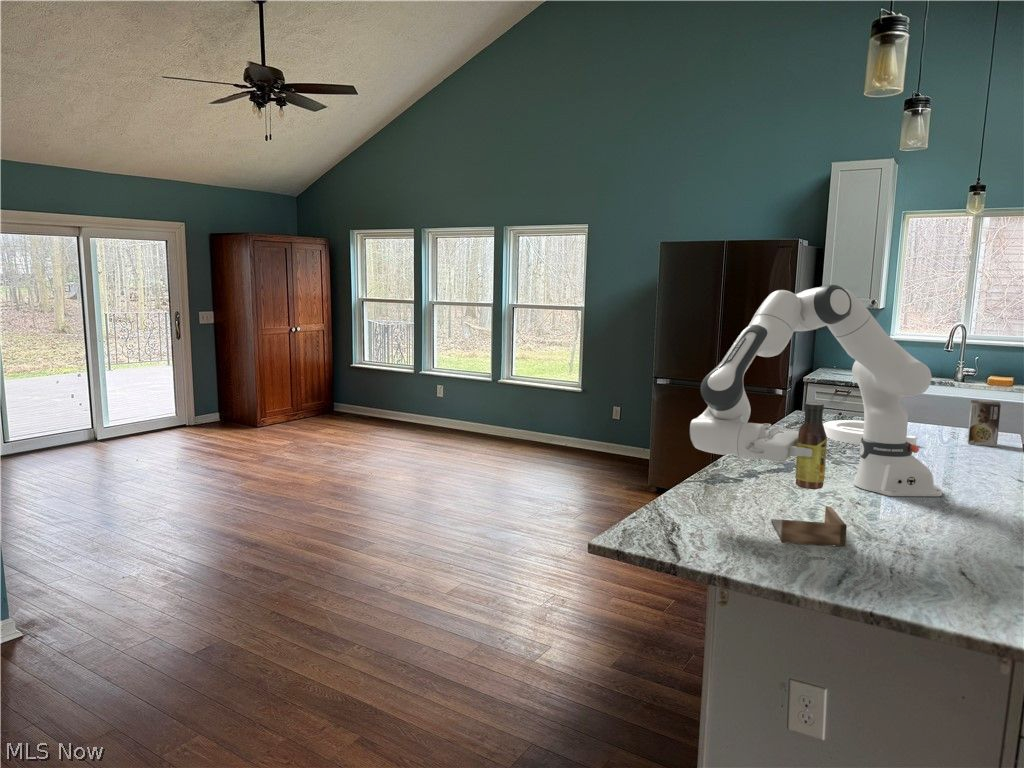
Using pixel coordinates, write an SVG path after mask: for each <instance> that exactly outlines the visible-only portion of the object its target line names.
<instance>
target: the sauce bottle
mask: <svg viewBox="0 0 1024 768" xmlns="http://www.w3.org/2000/svg"><path fill="white" fill-rule="evenodd" d="M824 407H825V404H824V403H821V402H814V401H813V402H812V401H811V402H809V401H808V402H805V403H804V411H805V412H804V415H805V416H804V419H803V420H804V423H803V424H802V426H801V427H800V428H799V430H798V431H799V434H798V443H797V447H801V448H805V447H807V448H812V449H813V455H812V456H811V457H807V456H796V460H795V461H796V462H795V463H796V464H795V476H794V477H795V485H796V486H797V487H799V488H802V489H806V490H820V489H822V488H823V487H824V482H825V476H826V475H825V473H826V462H827V461H826V459H827V458H826V457H827V447H828V446H827V445H828V441H827V440H828V438H827V436H826V433H825V430H824V426H823V424H824V423H823V416H824V415H823V414H824V413H823V412H824Z"/></svg>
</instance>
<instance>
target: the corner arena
mask: <svg viewBox="0 0 1024 768" xmlns="http://www.w3.org/2000/svg"><path fill="white" fill-rule="evenodd" d="M824 510H825V514H824V522H822V521H821V522H819V521H808V520H807V521H806V520H790V519H776V518H771V520H770V523H771V525H772V527H773V528H774V529H773V530H775V533H776V532H777V533H776V535H777V534H778V535H777V536H778V538H779V540H780V543H784V542H789V543H788V544H798V543H800V544H799V545H811V544H813V545H814V544H815V545H816V546H825V545H835V546H834V547H838V546H845V547H846V539H847V524H846V523H845V522H844V521H843V519H842V518H841V517H840V516H839V514H838V513H837V512H836V511H835V510H834V509H833V507H832V506H827V505H826V506H825V509H824ZM815 545H814V546H815Z"/></svg>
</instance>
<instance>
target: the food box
mask: <svg viewBox="0 0 1024 768" xmlns="http://www.w3.org/2000/svg"><path fill="white" fill-rule="evenodd" d="M1001 407H1002V406H1001V402H1000V401H993V400H992V401H990V400H989V401H988V400H979V399H978V400H975V399H974V400H973V399H972V400H970V409H969V418H968V419H969V421H968V431H967V432H968V433H967V439H966V440H967V444H968V445H974V446H985V447H986V446H987V447H994V448H995V447H998V440H999V439H998V438H999V437H998V436H999V427H1000V417H1001V416H1000V415H1001Z"/></svg>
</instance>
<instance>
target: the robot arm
mask: <svg viewBox="0 0 1024 768" xmlns="http://www.w3.org/2000/svg"><path fill="white" fill-rule="evenodd" d="M823 327H827V328H828V330H829V331H830V332H831V334H832V336H834V338H835V339H836V340H837V342H838V343H839V344H840V346H841V347H842V348H843V349H844V351H845V352H846V354H847V356H850V357H851V359H854V362H853V365H852V368H851V375H852V378H853V379H854V381H855V382H856V384H857V385H858V387H859V392H860V394H861V400H862V404H863V411H864V412H863V414H864V415H863V417H864V419H863V421H864V431H863V437H862V438H861V443H860V445H859V456H860V459H859V462H858V463H859V464H858V467H857V472H856V474H855V477H854V480H853V482H852V484H853V486H856V487H857V488H860V489H862V490H865V491H870V492H875V493H878V494H881V495H884V496H888V497H942V496H943V491H942V489H941V488H940V487H939V486H938V485H936V484H935V483H934V476H933V472H932V471H931V469H930V468H928V467H927V465H925V464H924V463H923V462H921V461H920V460H919V459H918V458H917V457H915V455H913V453H914V454H917V453H918V452H920V447H919V446H917V445H916V444H914V445H912V444H910V443H908V442H907V441H906V436H908V434H907V433H908V424H909V415H908V413H907V411H906V409H905V408H904V407H903V404H902V402H901V399H900V397H902V398H903V397H904V398H905V397H917V396H920V395H922V394H923V393H925V392H926V391H927V390H928V389H929V387H930V385H931V382H932V372H931V369H930V368H929V366H927V365H926V363H923V362H922V361H920V360H919V359H917V358H915V357H914V356H913V355H911V354H910V353H909V352H908V351H907V350H906V349H904V347H902V346H901V345H900V344H899V343H898V342H896V341H895V340H894V339H893V338H892V337H891V336H890V335H889V334H888V333H887V331H885V330H884V329H883V327H882V326H881V325H880V323H878V321H877V320H876V319H875V317H874V316H873V314H872V313H871V311H869V309H868V308H867V306H865V305H864V303H863V302H862V301H861V300H860V299H859V298H858V297H857V296H856V295H855V294H853V293H852V292H851V291H850V290H848V289H847V288H846V289H845V288H844V287H842V286H840V285H838V284H824V285H821V286H819V287H818V286H817V287H813V288H809V289H804V290H803V291H800V292H797V293H794V292H792V291H789V290H787V289H786V290H785V289H777V290H775V291H773V292H771V293H770V294H768V296H767V297H766V298H765V299H764V300H763V301H762V303H761V304H760V306H759V307H758V309H756V311H755V313H754V314H753V316H752V318H751V321H750V322H749V324H748V325H747V326H746V327H745V328H744V329H743V330H742V331H741V332H740V334H739V335H738V336H737V337H736V339H735V340H734V341H733V344H732V345H731V347H730V348H729V349H728V351H727V352H726V354H725V355H724V357H722V360H721V361H720V362H719V363H718V365H716V366H715V367H714V368H713V369H712V370H711V371H710V372H709V373H708V374H706V376H705V377H704V378H703V380H702V381H701V382H700V383H701V384H700V388H699V389H700V395H701V398H702V399H703V400H704V402H705V403H706V405H707V407H706V409H704V411H703V412H702V413H701V414H699V415H698V416H697V417H695V418H693V419H691V421H690V423H689V430H688V431H689V438H690V441H691V443H692V446H693V447H694V448H695V449H697V450H699V451H703V452H705V453H710V454H716V455H722V456H726V455H731V456H732V455H733V456H735V457H738V458H742V459H749V460H754V461H755V460H756V461H762V460H767V461H772V462H778V463H779V462H780V463H784V462H786V461H787V460H788V459H789V458H791V457H797V456H807V457H811V456H812V455H813V449H812V448H807V447H805V448H801V447H797V443H798V434H799V430H797V429H795V430H794V429H790V428H786V427H785V428H784V427H780V426H772V424H771V423H756V422H749V419H750V417H751V411H752V410H751V405H750V404H751V403H750V401H749V398H748V396H747V393H746V390H745V387H744V377H745V373H746V372H747V370H748V369H749V368H750V365H752V363H753V361H754V359H755V358H756V356H759V357H763V358H771V357H775V356H778V355H780V354H781V353H782V352H783V351H784V350H785V348H786V347H787V345H788V344H789V342H790V340H791V339H792V337H793V335H794V333H795V334H796V333H800V332H808V331H814V330H818V329H820V328H823Z"/></svg>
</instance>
